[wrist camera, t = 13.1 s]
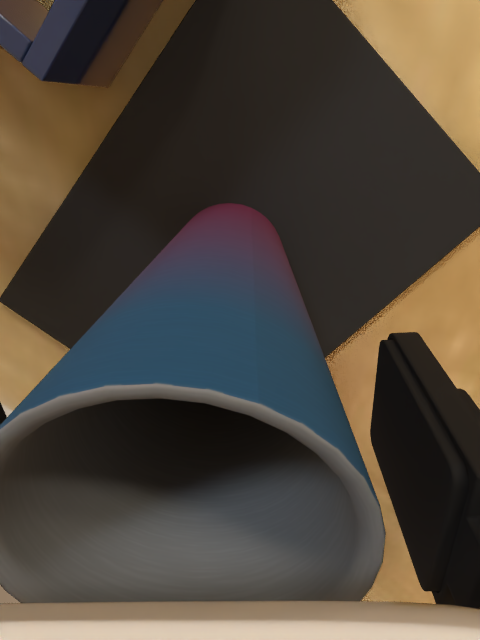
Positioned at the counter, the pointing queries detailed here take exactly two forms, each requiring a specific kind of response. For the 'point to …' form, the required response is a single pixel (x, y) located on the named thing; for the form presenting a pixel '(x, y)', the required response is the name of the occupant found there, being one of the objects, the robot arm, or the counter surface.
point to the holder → (74, 37)
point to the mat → (261, 170)
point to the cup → (191, 443)
